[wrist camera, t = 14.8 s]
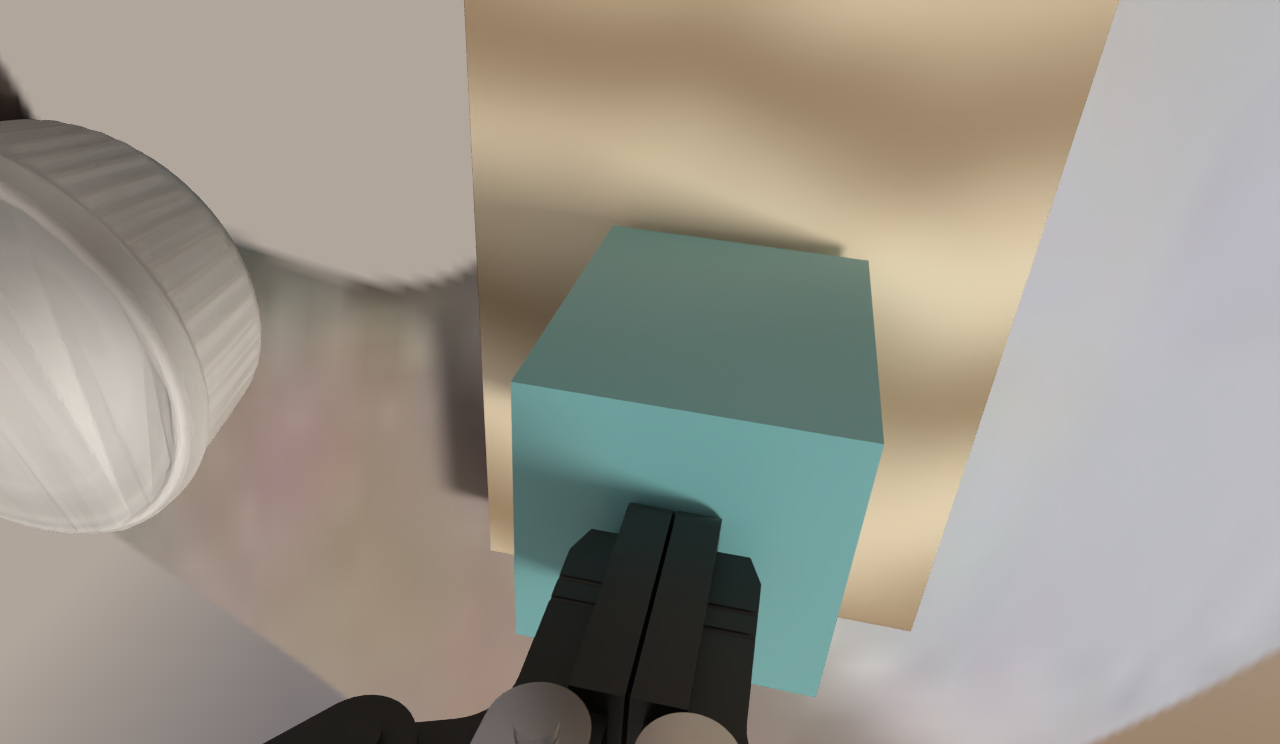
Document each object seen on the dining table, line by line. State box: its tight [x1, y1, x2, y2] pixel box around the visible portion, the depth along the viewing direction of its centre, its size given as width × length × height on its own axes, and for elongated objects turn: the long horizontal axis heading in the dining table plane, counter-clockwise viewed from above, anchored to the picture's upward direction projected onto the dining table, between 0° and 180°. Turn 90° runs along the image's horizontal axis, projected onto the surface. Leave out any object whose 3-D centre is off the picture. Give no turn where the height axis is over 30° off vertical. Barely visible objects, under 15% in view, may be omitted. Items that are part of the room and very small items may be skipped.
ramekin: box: [0, 119, 261, 534], centre depth 22 cm, size 11×11×5 cm
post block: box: [464, 0, 1119, 631], centre depth 17 cm, size 16×12×8 cm
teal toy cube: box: [511, 225, 884, 697], centre depth 16 cm, size 5×5×7 cm
